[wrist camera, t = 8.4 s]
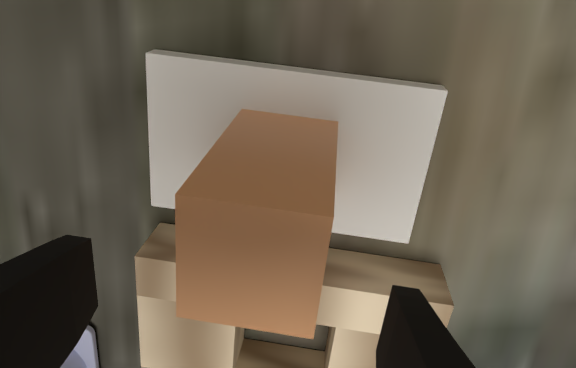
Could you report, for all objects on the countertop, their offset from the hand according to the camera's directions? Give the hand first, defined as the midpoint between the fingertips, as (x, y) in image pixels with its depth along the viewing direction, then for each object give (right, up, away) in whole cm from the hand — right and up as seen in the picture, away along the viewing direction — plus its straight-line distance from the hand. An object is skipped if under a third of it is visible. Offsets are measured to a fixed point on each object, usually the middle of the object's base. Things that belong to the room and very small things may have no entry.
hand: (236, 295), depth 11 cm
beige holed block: (+1, -4, +13) cm, 14 cm away
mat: (+1, +4, +9) cm, 10 cm away
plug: (+1, +4, +8) cm, 9 cm away
